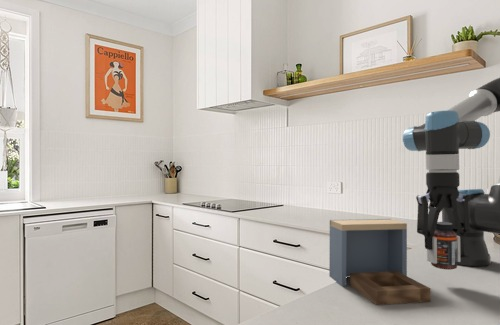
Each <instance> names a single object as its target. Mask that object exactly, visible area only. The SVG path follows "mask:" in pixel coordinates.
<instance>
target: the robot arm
mask: <svg viewBox="0 0 500 325" xmlns="http://www.w3.org/2000/svg"><path fill="white" fill-rule="evenodd" d="M498 112H500V77H497V78H495V79H492V80H491V81H489V82H487V83H485V84H483V85H482V86H480V87H478V88H476V89H474V90H473V91H471V92H470V93H469V94H468V96H467V97H466V98H465V99H463V100H462V101H460V102H459V103H457V104H455V105H453V106H452V107H450V108H449V109H446V110H437V111H431V112H428V113H427V114H426V115H425V123H423V124H422V125H419V126H415V125H414V126H412V127H408V128H406V129H405V130H404V132H403V135H402V142H403V145H404V147H405V148H406V150H408V151H410V152H411V151H412V152H413V151H414V152H425V169H426V170H427V171H428V172H426V173H425V185H426V187H427V190H426V192H425V194H422V195H419V194H417V196H416V197H415V198H416V202H417V223H416V232H417V234H419V235H422V236H424V249H425V250H426V258H427V260H426V261H427V262H430V263H431V262H432V263H434V264H436V263H437V238H436V237H433V236H434V233H435V229H436V225H437V222H439V216H440V213H441V222H449V223H452V230H453V231H454V232H455V233H456V235H457V265H460V266H469V267H484V266H485V267H486V266H489V265H491V262H492V261H491V258H492V257H491V255H490V253H489V248H488V246H487V244H486V241H485V236H484V235H485V232H486V233H490V234H491V233H492V234H497V235H500V177H499V178H498V182H496V183H494V184H491V186H490V189H489V192H488V193H485V191H484V189H483V188H474V189H471V188H470V189H459V188H458V187H460V173H459V172H458V171H459V170H460V152H459V150H466V149H467V150H475V149H480V148H482V147H484V146H486V144H488V142H489V141H490V136H491V131H490V129H489V126H488V125H486V124H485V123H483V122H480V121H477V120H478V119H479V118H481V117H488V116H489V115H492V114H494V113H498Z"/></svg>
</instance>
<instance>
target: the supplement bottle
mask: <svg viewBox="0 0 500 325" xmlns="http://www.w3.org/2000/svg"><path fill="white" fill-rule="evenodd" d="M433 237H436V238H437V263H436V264H434V263H432V262H430V265H431V266H433V267H434V268H437V269H439V270H455V269H457V268H458V264H457V235H456V233H455V232H454V231H453V230H452V223H449V222H442V221H437V225H436V229H435V233H434V236H433Z"/></svg>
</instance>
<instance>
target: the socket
mask: <svg viewBox="0 0 500 325" xmlns="http://www.w3.org/2000/svg"><path fill="white" fill-rule="evenodd" d="M349 285H350V287H352V288H354V289H355V290H356V291H357V292H358V293H360V294H361V295H363V296H364V297H366V298H367V299H368V300H369V301H371V302H372V303H374V304H375V305H376V306H382V305H399V304H412V303H413V304H416V303H430V302H431V288H430V287H429V286H427V285H425V284H423V283H421V282H420V281H418V280H416V279H413V278H411V277H410V276H408V275H407V276H405V275H403V274H402V273H400V272H398V271H388V272H366V273H350V277H349Z"/></svg>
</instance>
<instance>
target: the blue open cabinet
mask: <svg viewBox="0 0 500 325" xmlns="http://www.w3.org/2000/svg"><path fill="white" fill-rule="evenodd" d="M407 232H408V224H407V222H403V221H399V220H395V219H392V218H375V219H374V218H371V219H370V218H369V219H368V218H367V219H366V218H364V219H362V218H361V219H329V269H328V270H329V274H328V275H329V278H331V279H333V281H335V282H336V283H337V284H338V285H340V286H341V287H346V286H347V278H350V273H366V272H388V271H398V272H400V273H402V274H403V275H405V276H407V277H408V275H407V274H408V273H407V272H408V268H407V267H408V266H407V265H408V263H407V262H408V261H407V260H408V259H407V258H408V252H407V251H408V244H407V243H408V242H407V241H408V240H407V237H408V233H407Z"/></svg>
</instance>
